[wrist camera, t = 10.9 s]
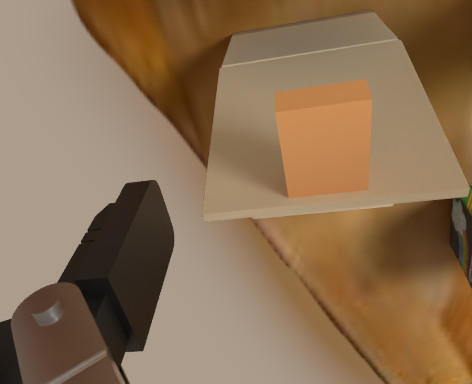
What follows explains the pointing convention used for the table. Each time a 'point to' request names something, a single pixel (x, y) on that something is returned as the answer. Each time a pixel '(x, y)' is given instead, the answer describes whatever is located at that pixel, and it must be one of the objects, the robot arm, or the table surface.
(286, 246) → the table surface
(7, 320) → the robot arm
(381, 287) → the table surface
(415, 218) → the table surface
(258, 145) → the carton lid
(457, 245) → the chalk box
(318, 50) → the carton
